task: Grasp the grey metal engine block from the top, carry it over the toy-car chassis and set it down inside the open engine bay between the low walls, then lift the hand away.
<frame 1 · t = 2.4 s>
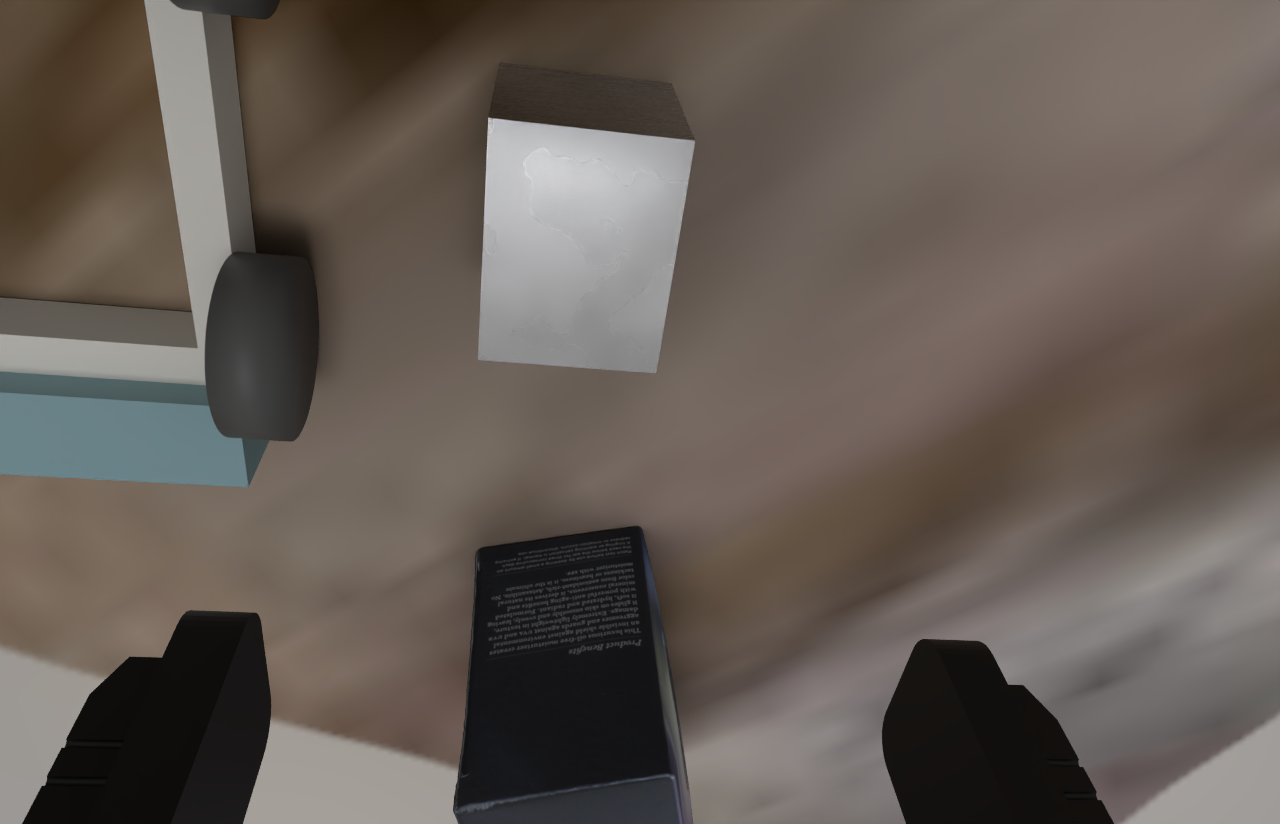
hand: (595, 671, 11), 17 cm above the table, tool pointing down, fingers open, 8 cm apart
engine block: (575, 183, 26), on the table
small box: (583, 629, 36), on the table
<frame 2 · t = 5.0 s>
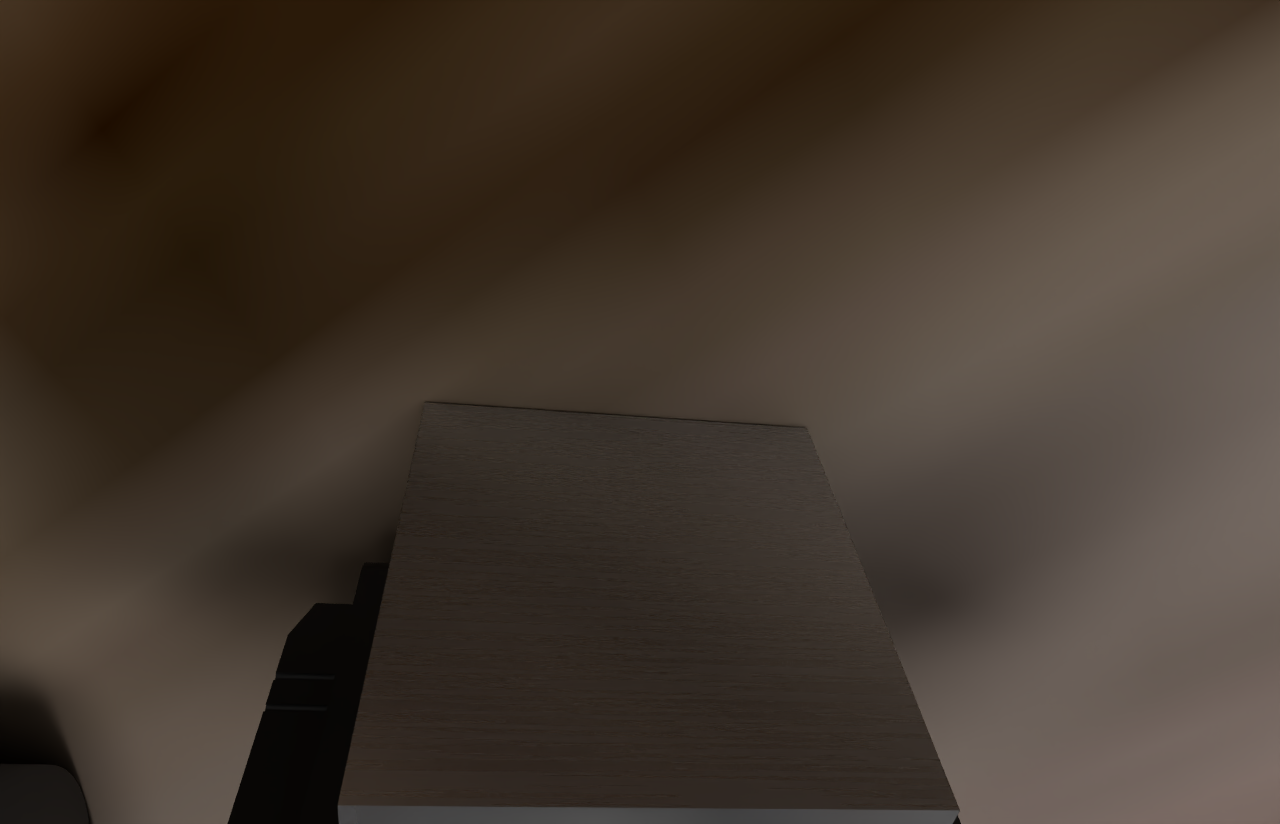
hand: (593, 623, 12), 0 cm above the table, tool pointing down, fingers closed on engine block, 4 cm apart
engine block: (594, 599, 12), on the table, touching gripper
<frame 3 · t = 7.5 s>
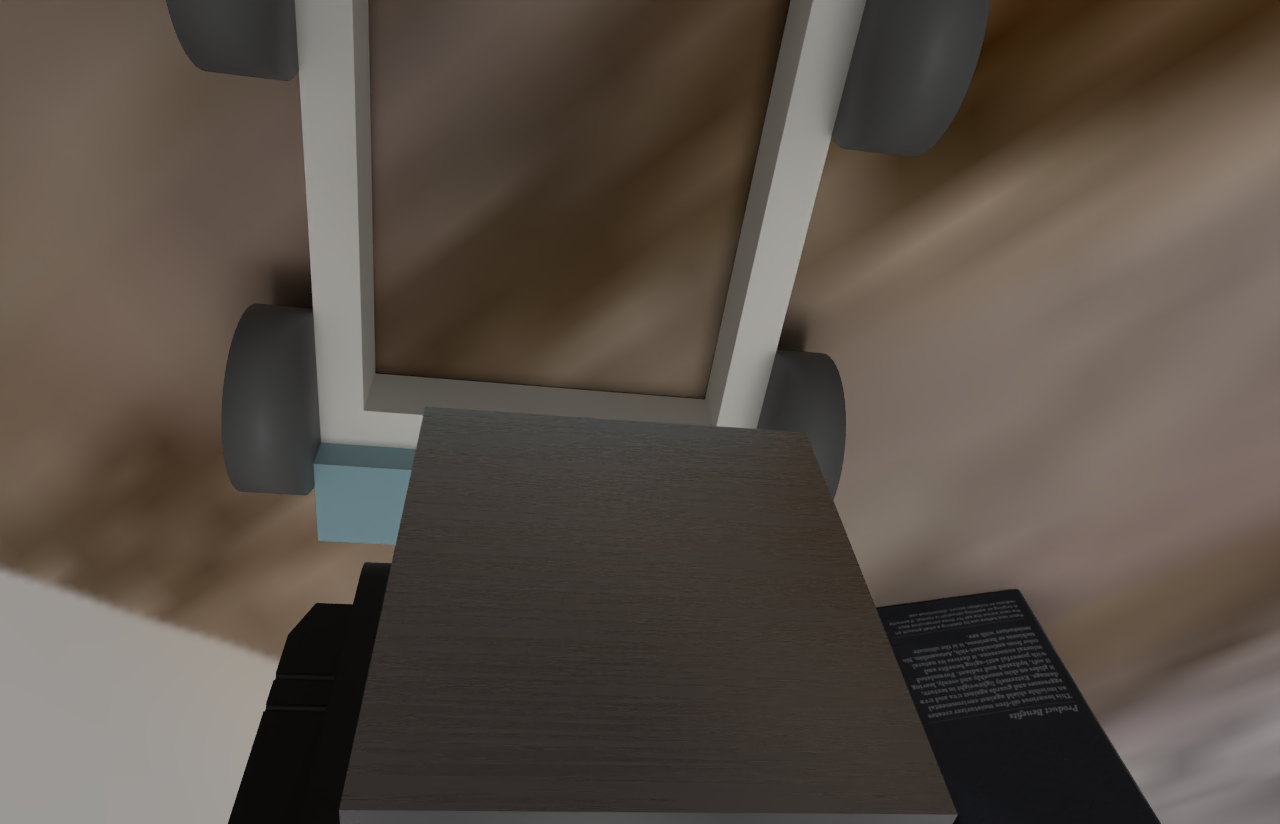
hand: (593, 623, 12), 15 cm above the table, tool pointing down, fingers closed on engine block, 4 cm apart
engine block: (594, 602, 12), point 15 cm above the table, touching gripper
small box: (932, 683, 37), on the table
chassis: (563, 198, 25), on the table
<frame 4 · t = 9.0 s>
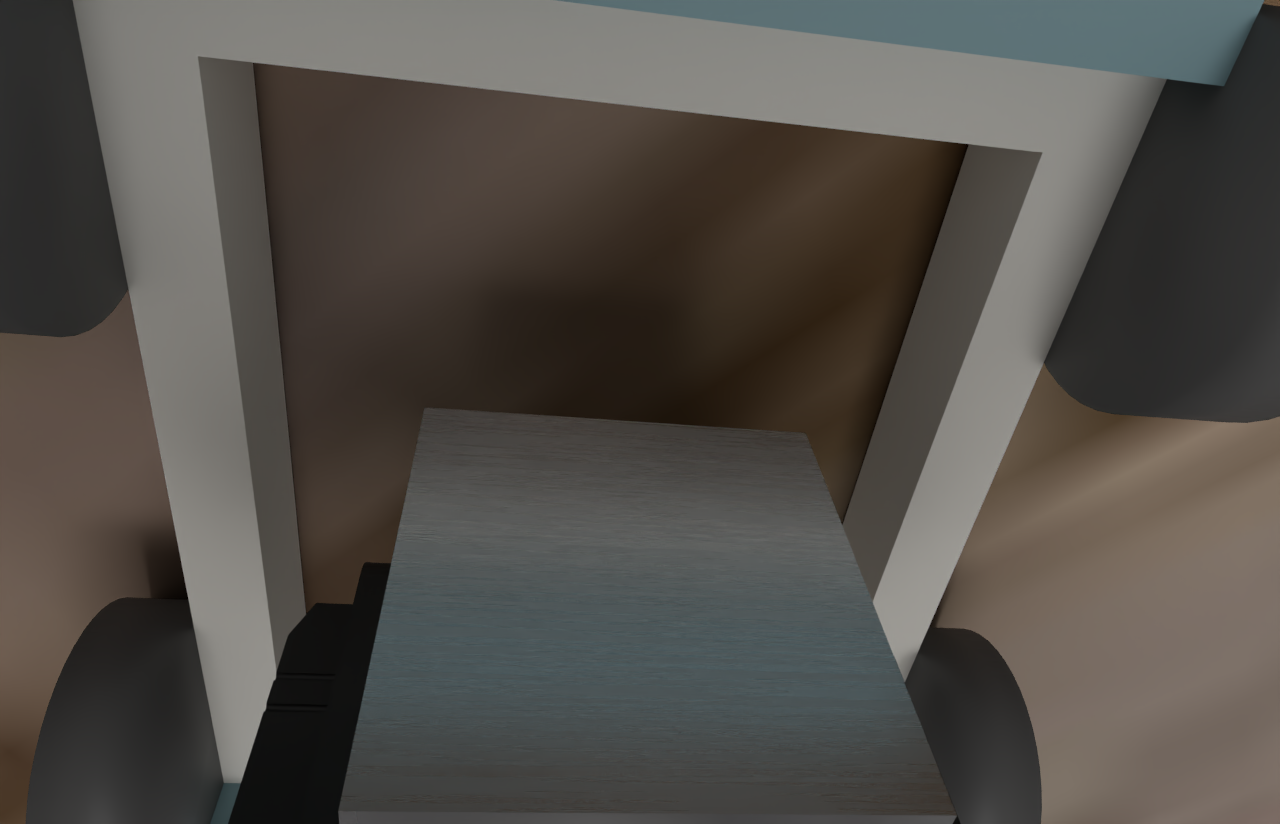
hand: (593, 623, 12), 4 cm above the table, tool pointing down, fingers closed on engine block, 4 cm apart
engine block: (593, 603, 12), point 4 cm above the table, touching gripper
chassis: (589, 428, 16), on the table
when the fingers open (2 cm above the table, at t = 10.2 s): engine block drops 2 cm, resting in chassis.
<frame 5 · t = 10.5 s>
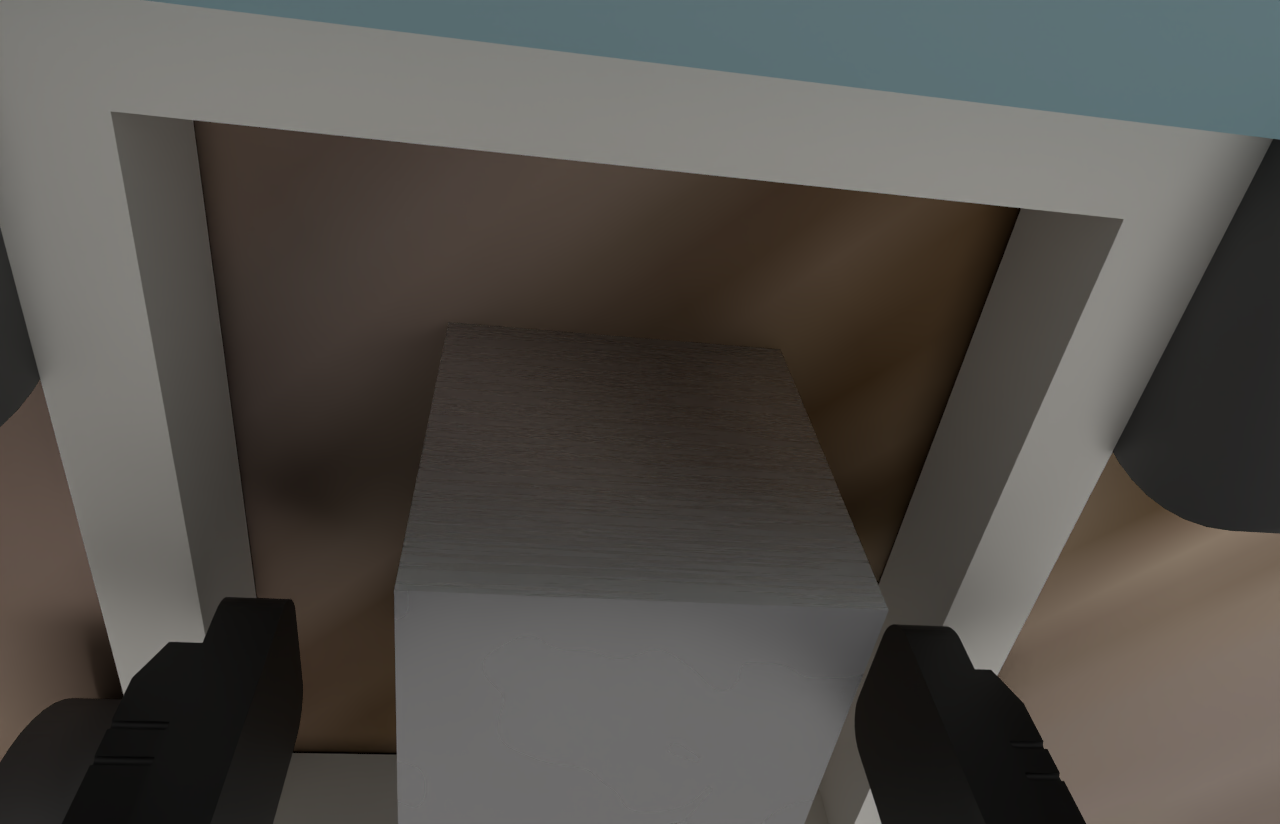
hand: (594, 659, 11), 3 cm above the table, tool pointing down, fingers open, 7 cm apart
engine block: (594, 504, 14), resting in chassis
chassis: (587, 510, 14), on the table
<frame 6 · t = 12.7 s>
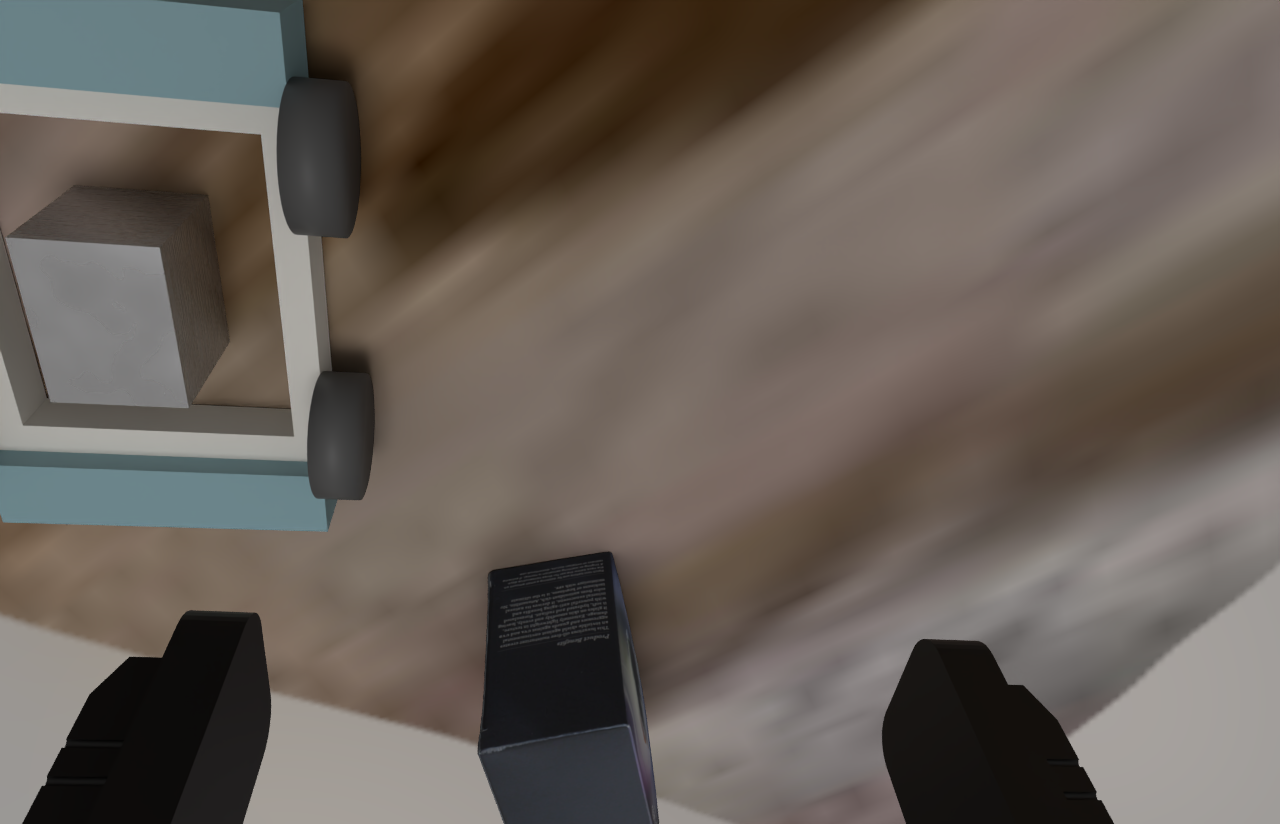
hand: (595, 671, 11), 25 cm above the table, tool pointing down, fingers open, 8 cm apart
engine block: (157, 266, 34), resting in chassis
small box: (571, 631, 47), on the table
chassis: (152, 268, 34), on the table
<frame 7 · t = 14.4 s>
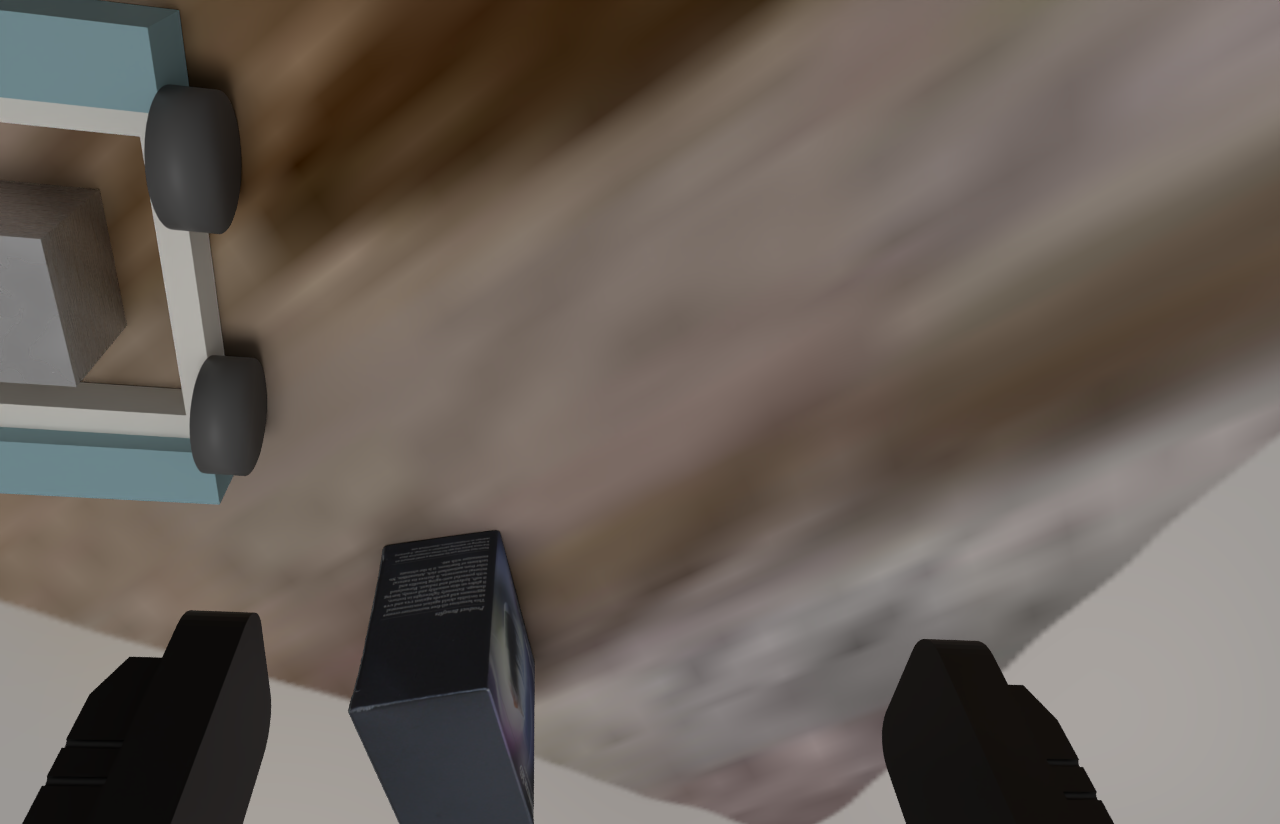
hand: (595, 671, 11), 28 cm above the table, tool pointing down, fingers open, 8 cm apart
engine block: (55, 254, 37), resting in chassis
small box: (466, 604, 50), on the table
chassis: (51, 255, 37), on the table
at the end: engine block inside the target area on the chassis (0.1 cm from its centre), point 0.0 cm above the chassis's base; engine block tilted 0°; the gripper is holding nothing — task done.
